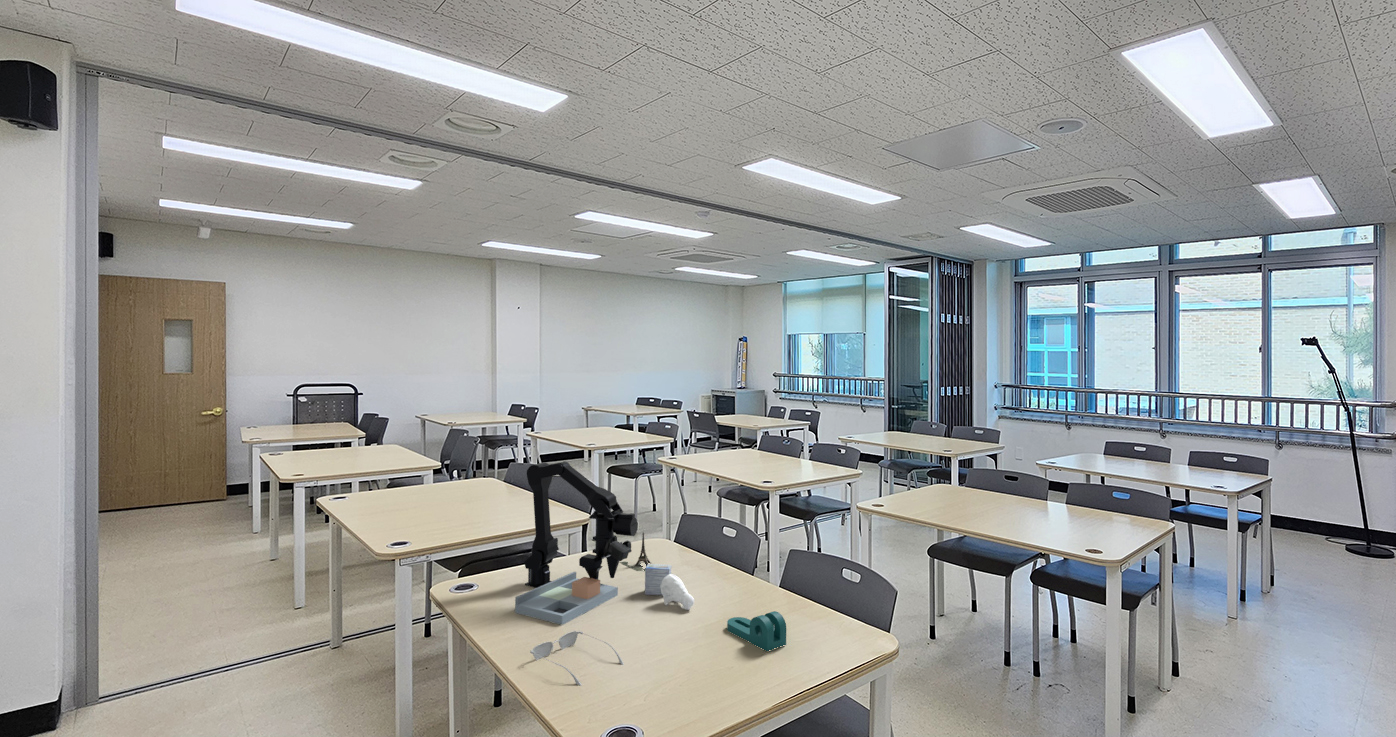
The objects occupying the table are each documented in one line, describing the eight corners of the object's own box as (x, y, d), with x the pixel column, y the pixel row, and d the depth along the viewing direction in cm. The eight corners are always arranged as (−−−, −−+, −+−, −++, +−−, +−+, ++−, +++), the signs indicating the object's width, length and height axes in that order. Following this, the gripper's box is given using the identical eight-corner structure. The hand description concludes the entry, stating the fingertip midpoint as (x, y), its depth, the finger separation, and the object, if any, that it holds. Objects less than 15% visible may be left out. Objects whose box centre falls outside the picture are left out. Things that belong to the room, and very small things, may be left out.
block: (571, 595, 190) (572, 582, 190) (584, 589, 195) (584, 576, 195) (587, 599, 187) (587, 585, 187) (600, 593, 192) (600, 580, 192)
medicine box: (671, 591, 202) (671, 564, 202) (669, 596, 197) (669, 568, 197) (647, 590, 203) (647, 563, 203) (644, 595, 198) (644, 567, 198)
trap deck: (515, 612, 182) (515, 597, 182) (573, 585, 206) (573, 571, 206) (562, 624, 174) (562, 608, 174) (617, 595, 198) (617, 580, 198)
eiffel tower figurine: (618, 563, 231) (619, 527, 231) (641, 559, 237) (642, 523, 237) (641, 574, 219) (641, 536, 219) (664, 569, 225) (665, 532, 225)
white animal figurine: (674, 570, 196) (701, 583, 187) (672, 596, 196) (699, 611, 188) (659, 574, 191) (685, 588, 183) (656, 601, 192) (683, 616, 183)
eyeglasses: (578, 643, 164) (579, 628, 164) (627, 665, 152) (627, 648, 152) (529, 664, 152) (529, 648, 152) (577, 689, 140) (577, 671, 140)
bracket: (786, 646, 163) (786, 615, 163) (767, 653, 159) (767, 622, 159) (740, 623, 178) (740, 595, 178) (722, 628, 174) (722, 600, 174)
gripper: (608, 543, 187) (607, 596, 187) (641, 529, 204) (641, 577, 204) (578, 538, 192) (577, 589, 192) (613, 525, 209) (613, 572, 209)
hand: (604, 582), depth 199 cm, fingers open, 8 cm apart
